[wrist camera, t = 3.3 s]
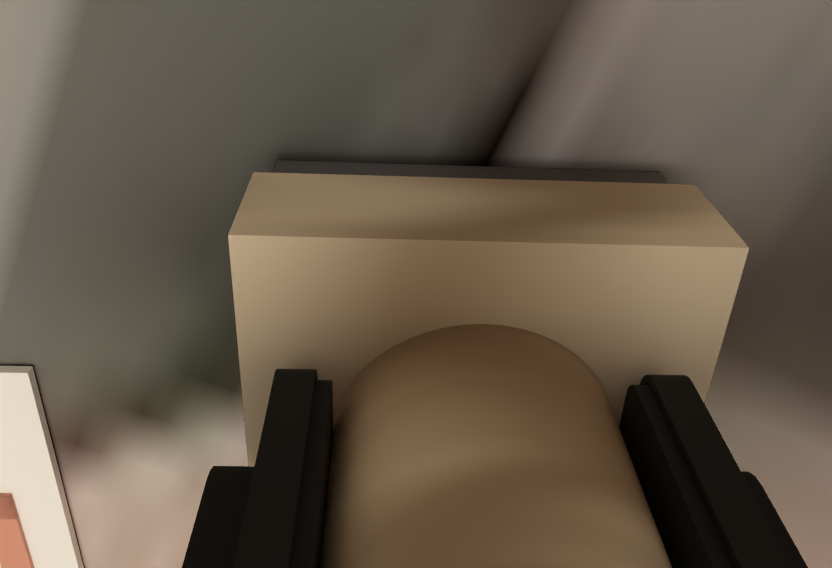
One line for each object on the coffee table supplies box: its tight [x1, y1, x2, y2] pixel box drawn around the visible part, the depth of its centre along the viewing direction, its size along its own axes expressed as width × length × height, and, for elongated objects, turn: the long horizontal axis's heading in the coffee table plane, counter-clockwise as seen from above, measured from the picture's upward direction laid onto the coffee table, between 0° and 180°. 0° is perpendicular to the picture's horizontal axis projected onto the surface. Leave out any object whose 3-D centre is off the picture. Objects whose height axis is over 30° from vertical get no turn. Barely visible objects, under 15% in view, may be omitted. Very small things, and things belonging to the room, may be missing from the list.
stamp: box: [228, 160, 749, 568], centre depth 10 cm, size 6×6×8 cm
